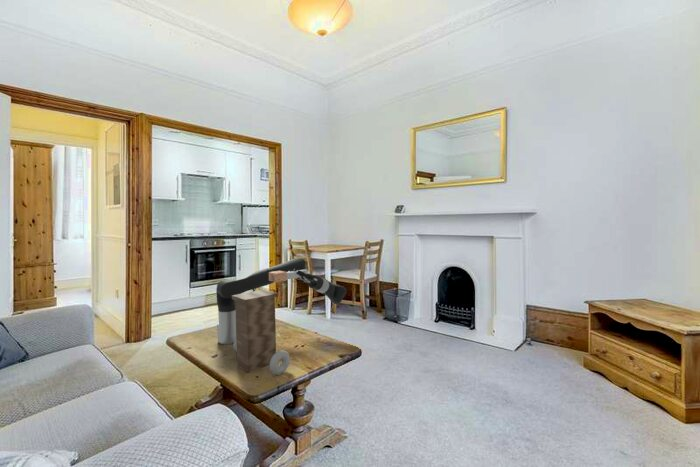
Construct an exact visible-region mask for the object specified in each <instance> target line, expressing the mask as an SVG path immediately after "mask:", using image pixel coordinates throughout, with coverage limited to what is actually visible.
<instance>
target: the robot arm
mask: <svg viewBox="0 0 700 467" xmlns="http://www.w3.org/2000/svg"><path fill="white" fill-rule="evenodd" d="M306 265H307V264H306V260H305V259H304V258H302V257H296V258H293V259H289V260H287V261H284V262H282V263H278V264H276V265H274V266H270V267H266V268H263V269H260V270H257V271H254V272H253V273H252V274H249V275H247V276H246V277H244V278H240V279H236V280H231V279H222V280H220V281H219V282H218V283H217V285H216V289H215V290H216V303H217V309H218V311H217V312H218V313H217V314H218V324H217V327H216V328H217V330H216V331H217V343H219V344H221V345H230V344H234V341H235V340H236V309H235V300H233V299H232V295H237V294H242V293H247V292H248V291H249V292H250V291H253V290H252V289H254V290H255V289H256V290H257V289H259V288H263V287H265V286H268V285H272V284H274V283H275V282H273V281H269V272H274V271H284V272H291V271H298V272H297V274H298V275H300V276H302V277H299V278H295V279H296V280H299V281H301V282H303V283H305V284H307V286H308V288H310V289H311V290H314V291H316V292H318V293H321V294H323V295H324V296H326V297H327V298H328V299H329V300H330V302H331V303H333V304H334V305H340V303H341V302H342V300H343V299H344V297H345V295H346V294H347V288H346V287H344V286H343V285H339V284H336V283H333V282H331V281H329V280H328V279H326V278H324V277H322V276H320V275H318V274H315V273H314V274H310V273H308V274H307V273H304V272H302V271H300V270H306Z"/></svg>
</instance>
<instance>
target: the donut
mask: <svg viewBox="0 0 700 467" xmlns="http://www.w3.org/2000/svg"><path fill="white" fill-rule="evenodd" d="M290 359H291V358H290V354H289V352H287V351H286V350H283V349H282V350H281V349H280V350H276V353H275V354H274V355H273V356H272V358H271V361H270V365H269V369H270V372H271V373H272V374H273V375H275V376H276V375H282V374H283V373H285V372H286V371H287V369H288V367H289V366H290V361H291V360H290ZM280 360H281V362H280V364H279V361H280Z"/></svg>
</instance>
